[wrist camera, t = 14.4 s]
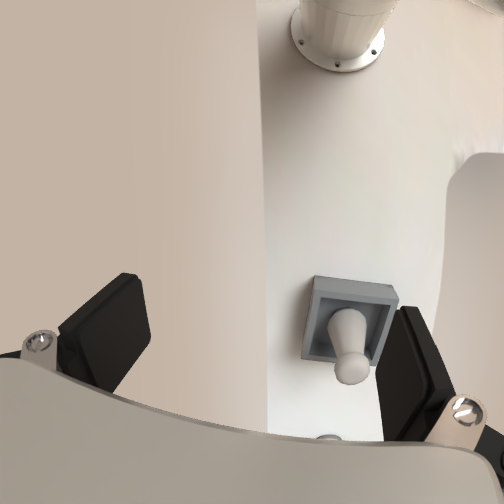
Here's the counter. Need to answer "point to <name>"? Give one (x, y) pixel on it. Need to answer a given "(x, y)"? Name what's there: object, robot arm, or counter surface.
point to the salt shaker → (349, 345)
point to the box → (357, 297)
